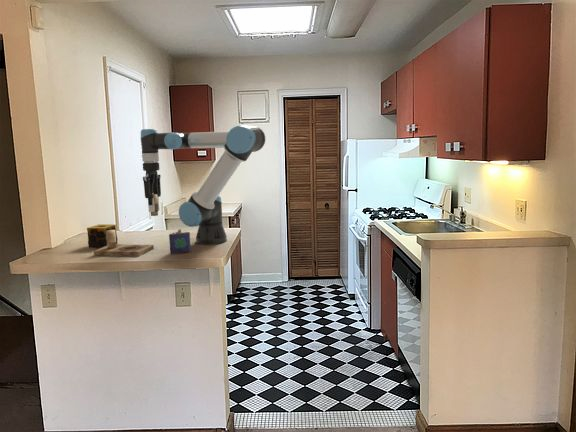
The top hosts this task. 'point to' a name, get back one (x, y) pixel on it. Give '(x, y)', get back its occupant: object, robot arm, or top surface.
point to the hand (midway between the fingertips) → (154, 210)
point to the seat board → (121, 247)
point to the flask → (179, 242)
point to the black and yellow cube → (99, 235)
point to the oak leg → (155, 205)
